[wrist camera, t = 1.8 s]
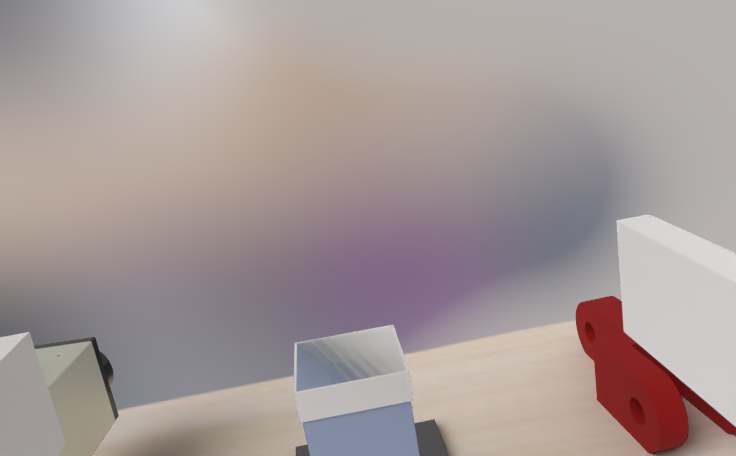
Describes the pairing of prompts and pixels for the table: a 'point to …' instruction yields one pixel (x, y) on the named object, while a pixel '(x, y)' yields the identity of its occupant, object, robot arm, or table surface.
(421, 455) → the mat
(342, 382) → the plug
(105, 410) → the pneumatic valve
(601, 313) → the mechanical linkage
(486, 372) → the table surface
